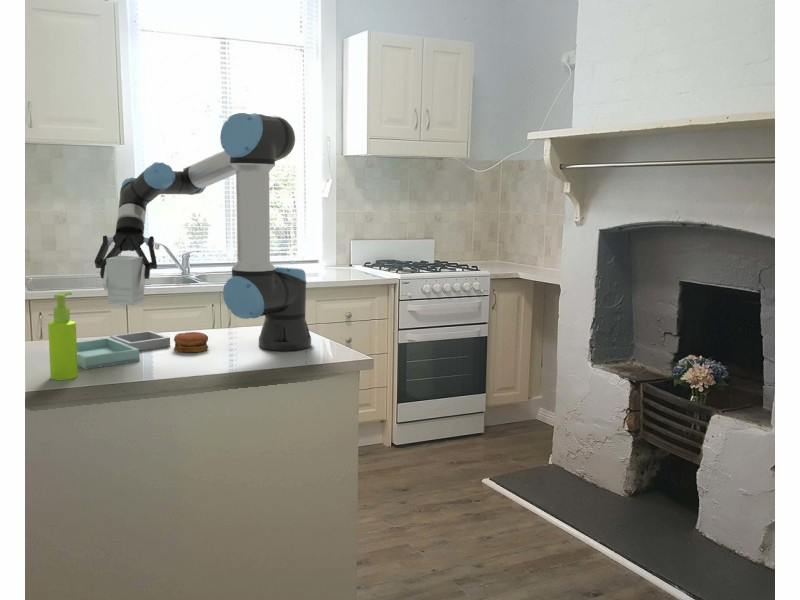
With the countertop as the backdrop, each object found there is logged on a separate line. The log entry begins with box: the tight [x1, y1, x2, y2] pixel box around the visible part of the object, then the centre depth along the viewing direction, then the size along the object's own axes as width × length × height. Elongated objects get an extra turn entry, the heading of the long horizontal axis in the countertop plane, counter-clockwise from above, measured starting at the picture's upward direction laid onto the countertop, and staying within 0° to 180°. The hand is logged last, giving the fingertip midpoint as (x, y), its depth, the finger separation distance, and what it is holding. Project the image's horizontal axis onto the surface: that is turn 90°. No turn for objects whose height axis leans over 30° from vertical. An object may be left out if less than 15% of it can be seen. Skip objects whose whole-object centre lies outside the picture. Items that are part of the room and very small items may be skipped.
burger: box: [173, 331, 209, 353], centre depth 202 cm, size 10×9×5 cm
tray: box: [77, 337, 141, 370], centre depth 189 cm, size 18×14×3 cm
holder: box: [109, 330, 171, 351], centre depth 204 cm, size 12×12×2 cm
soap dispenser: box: [47, 291, 79, 381], centre depth 170 cm, size 6×7×20 cm
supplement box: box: [106, 255, 145, 306], centre depth 198 cm, size 7×7×13 cm
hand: (123, 287), depth 195 cm, fingers closed on supplement box, 9 cm apart
